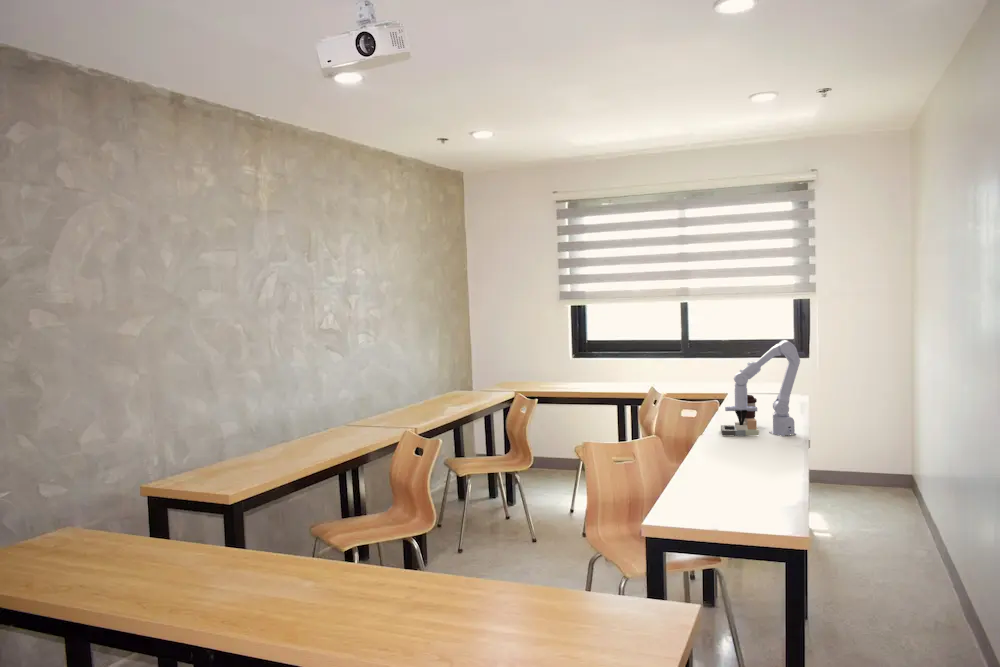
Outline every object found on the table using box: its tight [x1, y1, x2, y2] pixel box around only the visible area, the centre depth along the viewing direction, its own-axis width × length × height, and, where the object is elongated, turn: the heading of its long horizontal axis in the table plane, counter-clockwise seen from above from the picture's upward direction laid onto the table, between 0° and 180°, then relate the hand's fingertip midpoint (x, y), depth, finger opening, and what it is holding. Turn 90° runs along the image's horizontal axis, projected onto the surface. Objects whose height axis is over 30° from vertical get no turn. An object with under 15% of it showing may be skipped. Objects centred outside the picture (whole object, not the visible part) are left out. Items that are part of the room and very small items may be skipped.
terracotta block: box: [747, 418, 758, 429], centre depth 351 cm, size 4×5×4 cm
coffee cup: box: [741, 394, 758, 425], centre depth 370 cm, size 10×10×15 cm
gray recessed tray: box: [720, 424, 747, 437], centre depth 353 cm, size 10×13×2 cm
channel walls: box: [734, 421, 747, 430], centre depth 352 cm, size 5×9×2 cm, turn 166°
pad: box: [745, 427, 760, 435], centre depth 351 cm, size 6×11×2 cm, turn 166°
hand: (741, 426), depth 352 cm, fingers closed
